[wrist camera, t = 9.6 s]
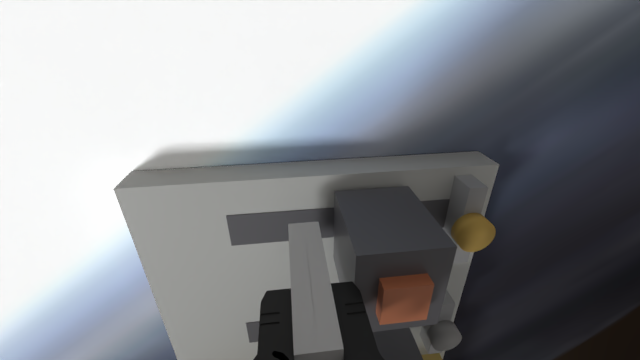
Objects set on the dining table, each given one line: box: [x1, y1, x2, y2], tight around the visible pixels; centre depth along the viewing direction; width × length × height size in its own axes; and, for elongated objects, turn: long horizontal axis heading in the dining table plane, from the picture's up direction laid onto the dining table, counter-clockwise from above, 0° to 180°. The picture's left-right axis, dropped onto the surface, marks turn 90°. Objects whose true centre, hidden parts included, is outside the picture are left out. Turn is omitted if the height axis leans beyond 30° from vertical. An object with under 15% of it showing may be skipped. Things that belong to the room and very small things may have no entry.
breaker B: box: [333, 186, 457, 332], centre depth 14 cm, size 4×4×6 cm
